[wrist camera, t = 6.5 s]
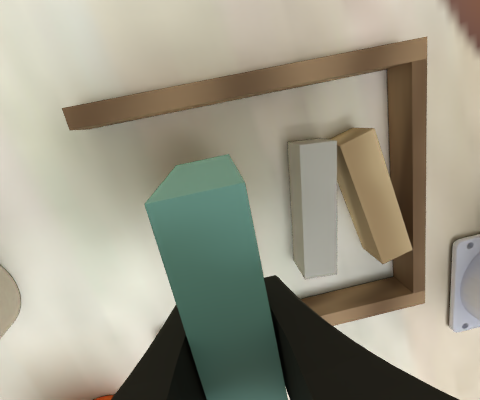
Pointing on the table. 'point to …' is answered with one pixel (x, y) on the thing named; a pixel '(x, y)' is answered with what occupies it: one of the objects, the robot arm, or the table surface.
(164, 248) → the long teal post
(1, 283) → the coffee cup
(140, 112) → the frame
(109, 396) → the paper cup
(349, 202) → the plywood offcut
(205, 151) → the table surface
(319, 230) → the grey board offcut
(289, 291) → the robot arm
